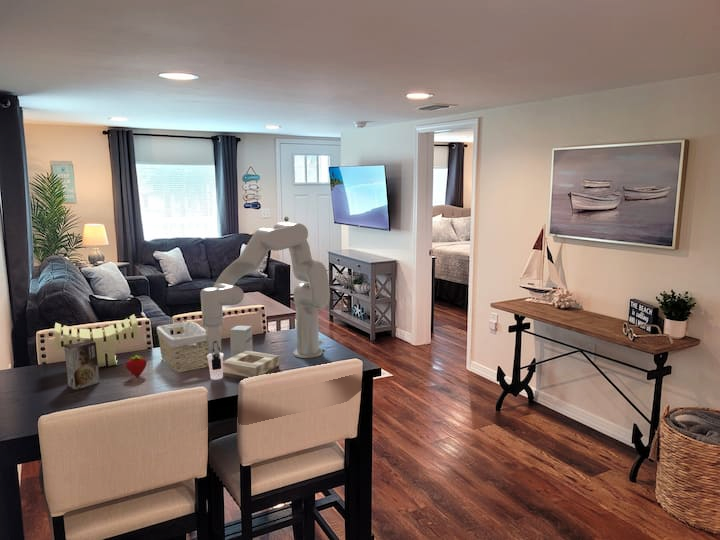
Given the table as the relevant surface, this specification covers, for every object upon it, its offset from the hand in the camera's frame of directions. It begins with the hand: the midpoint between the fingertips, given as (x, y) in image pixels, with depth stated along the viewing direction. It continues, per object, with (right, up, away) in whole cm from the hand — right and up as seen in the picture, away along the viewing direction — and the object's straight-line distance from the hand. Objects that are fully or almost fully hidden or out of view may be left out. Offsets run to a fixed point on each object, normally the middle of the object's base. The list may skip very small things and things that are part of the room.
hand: (215, 365), depth 202 cm
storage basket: (-19, -3, +20) cm, 28 cm away
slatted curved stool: (-54, -3, +20) cm, 57 cm away
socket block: (+11, -4, +9) cm, 15 cm away
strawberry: (-32, -5, +4) cm, 33 cm away
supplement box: (+3, -1, +29) cm, 30 cm away
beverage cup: (0, -5, +1) cm, 5 cm away
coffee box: (-49, -7, -3) cm, 49 cm away
